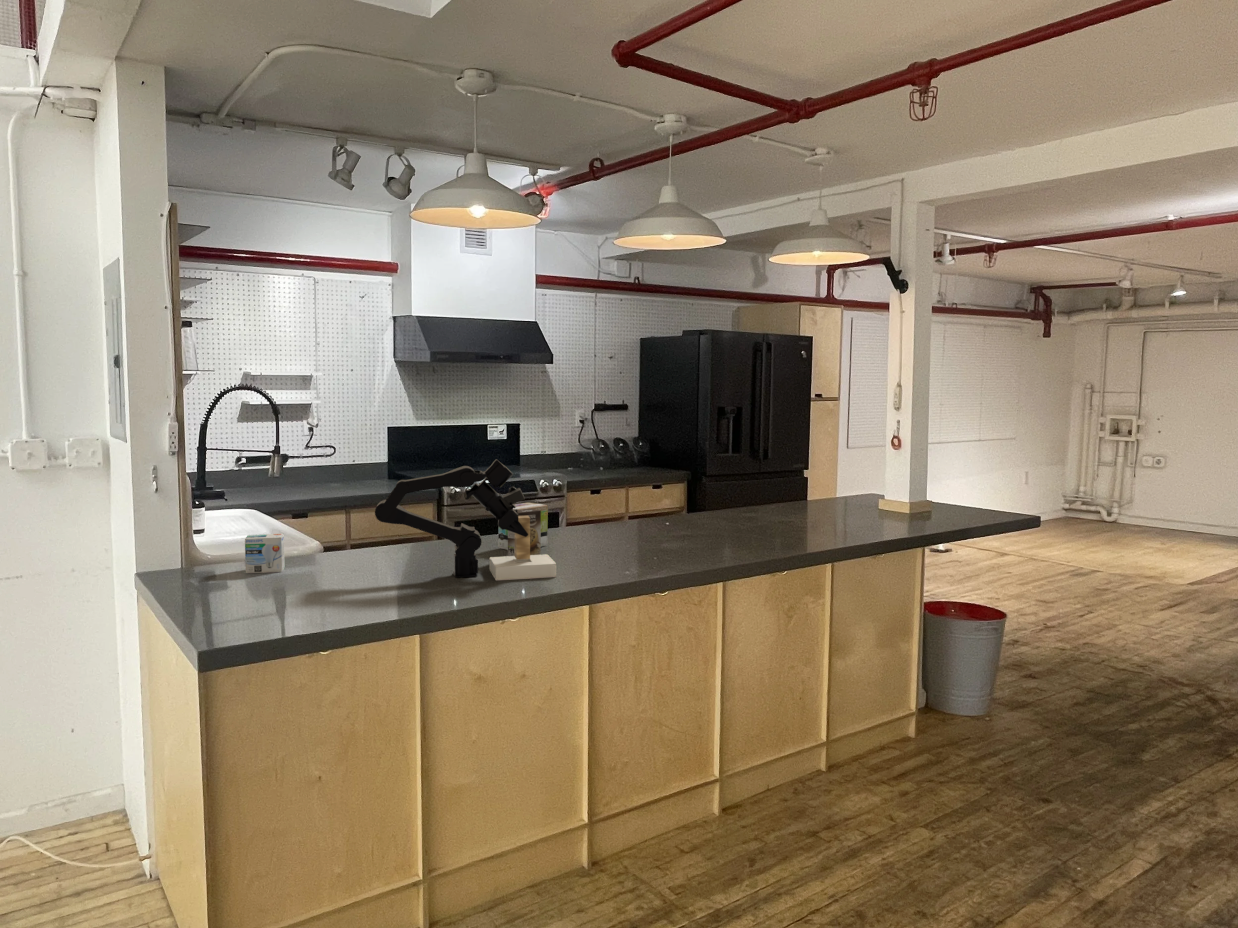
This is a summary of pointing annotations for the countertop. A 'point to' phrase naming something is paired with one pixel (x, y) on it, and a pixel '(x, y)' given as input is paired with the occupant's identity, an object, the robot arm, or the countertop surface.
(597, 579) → the countertop surface
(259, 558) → the light bulb box
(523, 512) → the coffee box
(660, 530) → the countertop surface
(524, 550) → the tan wooden block
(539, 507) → the tea box
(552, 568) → the white flat block
